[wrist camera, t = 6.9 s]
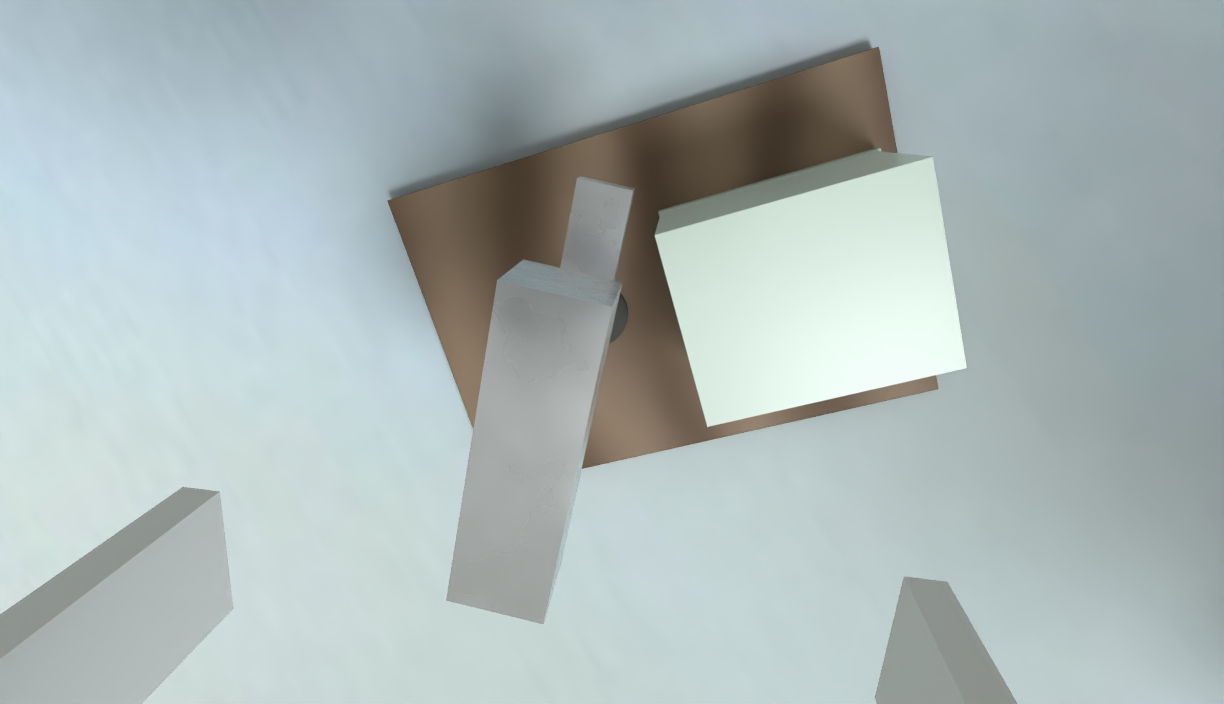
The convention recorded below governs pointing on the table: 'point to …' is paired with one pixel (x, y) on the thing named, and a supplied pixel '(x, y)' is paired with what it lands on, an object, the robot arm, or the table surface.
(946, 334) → the pale green block
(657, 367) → the board
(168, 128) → the table surface
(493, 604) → the grey t-shaped stand
